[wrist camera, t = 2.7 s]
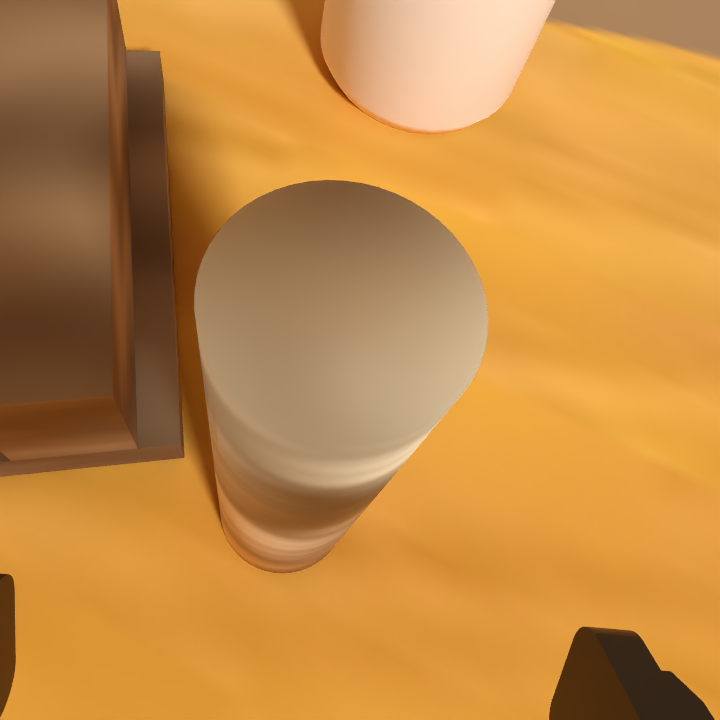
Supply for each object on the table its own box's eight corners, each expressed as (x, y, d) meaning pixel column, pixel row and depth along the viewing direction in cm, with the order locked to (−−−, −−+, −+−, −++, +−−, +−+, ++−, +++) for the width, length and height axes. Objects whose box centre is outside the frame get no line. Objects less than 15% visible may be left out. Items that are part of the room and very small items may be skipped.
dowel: (336, 442, 23) (455, 177, 10) (353, 563, 22) (518, 427, 9) (215, 454, 22) (185, 183, 10) (225, 581, 21) (204, 459, 8)
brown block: (5, 79, 27) (-55, -69, 21) (163, 80, 28) (145, -59, 23) (-19, 478, 21) (-110, 414, 15) (184, 457, 22) (166, 391, 17)
